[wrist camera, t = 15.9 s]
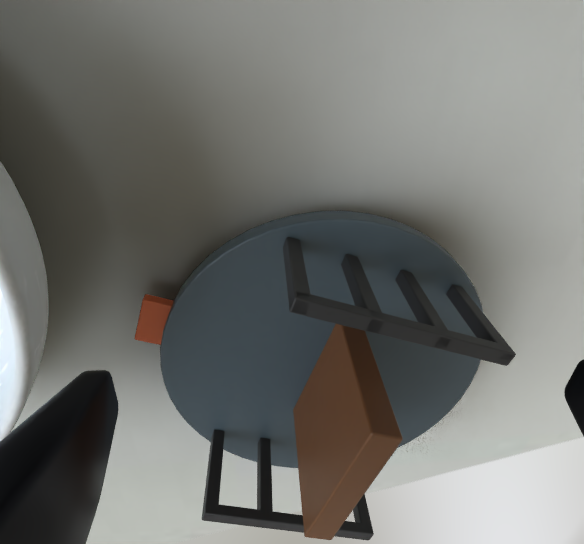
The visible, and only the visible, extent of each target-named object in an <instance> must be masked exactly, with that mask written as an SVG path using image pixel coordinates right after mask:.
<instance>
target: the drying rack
mask: <svg viewBox="0 0 584 544" xmlns="http://www.w3.org/2000/svg"><path fill="white" fill-rule="evenodd" d="M135 340H140V341H144V342H149V343H154V344H159V345H161V347H160V360H161V370H162V375H163V380H164V383H165V386H166V389H167V391H168V394H169V396H170V398H171V400H172V402H173V403H174V405H175V407H176V409H177V410H178V412H179V413H180V414H181V415H182V417H183V418H184V419H185V420H186V421H187V423H188V424H189V425H190V426H192V427H193V428H194V429H195V430H196V431H197V432H198V433H199V434H200V435H202V436H203V437H205V438H206V439H207V440H209V441H210V442H211V446H210V454H209V462H208V471H207V479H206V488H205V496H204V505H203V513H202V520H204V521H212V522H221V523H229V524H237V525H245V526H254V527H262V528H270V529H280V530H287V531H296V532H304V535H305V537H309V538H318V539H326V540H331V539H332V538H333V537H334V536H338V537H345V538H353V539H354V538H355V539H362V540H370V538H371V537H372V536H373V529H372V526H371V521H370V516H369V512H368V508H367V503H366V499H365V494H364V493H365V492H366V491H367V489H368V488H369V486H370V485H371V484H372V482H373V481H374V479H375V478H376V477H377V475H378V474H379V472H380V471H381V470H382V468H383V467H384V465H385V464H386V463H387V461H388V460H389V458H390V457H391V456H392V454H393V453H394V451H395V450H396V449H397V448H398V447H400V446H402V445H404V444H406V443H408V442H410V441H411V440H413V439H415V438H416V437H418V436H420V435H421V434H423V433H424V432H426V431H427V430H428V429H430V428H431V427H432V426H434V425H435V424H436V423H437V422H439V421H440V420H441V419H442V418H443V417H444V416H445V415H446V414H447V413H448V412H449V411H450V410H451V409H452V408H453V407H454V406H455V404H456V403H457V402H458V401H459V400H460V399H461V397H462V396H463V394H464V393H465V391H466V390H467V388H468V387H469V385H470V384H471V382H472V380H473V378H474V376H475V374H476V371H477V369H478V366H479V363H480V360H485V361H489V362H493V363H497V364H501V365H505V366H507V365H508V364H509V363H510V362H511V360H512V359H513V358H514V357H515V355H516V354H515V352H514V351H513V350H512V349H511V347H510V346H509V345H508V344H507V343H506V341H505V340H504V339H503V338H502V336H501V335H500V334H499V333H498V331H497V330H496V329H495V328H494V326H493V325H492V324H491V322H490V321H489V320H488V319H487V317H486V316H485V315H484V314H483V310H482V305H481V302H480V300H479V297H478V294H477V292H476V289H475V287H474V286H473V284H472V283H471V281H470V279H469V278H468V276H467V274H466V273H465V272H464V271H463V269H462V268H461V267H460V266H459V265H458V264H457V262H456V261H455V260H454V259H453V258H452V257H451V256H450V255H449V253H448V252H447V251H446V250H445V249H444V248H442V247H441V246H440V245H439V244H437V243H436V242H435V241H434V240H432V239H431V238H430V237H428V236H426V235H425V234H423V233H421V232H419V231H418V230H416V229H414V228H412V227H410V226H408V225H405V224H402V223H400V222H397V221H395V220H392V219H389V218H385V217H381V216H377V215H373V214H368V213H359V212H350V211H318V212H311V213H304V214H296V215H292V216H288V217H284V218H281V219H277V220H273V221H270V222H267V223H265V224H262V225H260V226H257V227H255V228H252V229H250V230H248V231H246V232H244V233H242V234H241V235H239V236H237V237H235V238H233V239H232V240H230V241H228V242H226V243H225V244H224V245H222V246H221V247H220V248H218V249H217V250H216V251H214V252H213V253H212V254H210V255H209V256H208V257H207V258H206V259H205V260H204V261H203V262H202V263H201V264H200V265H199V266H198V267H197V268H196V269H195V270H194V271H193V272H192V273H191V275H190V276H189V277H188V279H187V280H186V281H185V283H184V284H183V285H182V287H181V288H180V290H179V292H178V294H177V296H176V298H175V300H169V299H165V298H161V297H157V296H152V295H148V294H145V296H144V298H143V301H142V305H141V310H140V315H139V320H138V325H137V329H136V334H135ZM223 449H224V450H226V451H228V452H230V453H233V454H235V455H238V456H240V457H242V458H246V459H249V460H252V461H256V462H257V510H256V509H248V508H241V507H233V506H225V505H218V504H219V492H220V480H221V469H222V457H223ZM271 465H274V466H282V467H291V468H298V469H299V480H300V491H301V502H302V513H303V516H302V515H294V514H287V513H279V512H272V476H271ZM352 510H353V512H354V518H355V522H348V521H345V520H346V519H347V517H348V516H349V514H350V513H351V512H352Z"/></svg>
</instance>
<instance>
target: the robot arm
mask: <svg viewBox="0 0 584 544" xmlns="http://www.w3.org/2000/svg"><path fill="white" fill-rule="evenodd" d="M565 398H566V401H567V403H568V405H569V408H570V410H571V412H572V414H573V416H574V418H575V420H576V422H577V424H578V426H579V428H580V430H581V432H582V434H583V436H584V360H582V361H580V362H579V363H578V365H577V367H576V369H575V370H574V372H573V374H572V376H571V378H570V380H569V382H568V383H567V385H566V387H565ZM117 415H118V400H117V396H116V392H115V388H114V384H113V380H112V377H111V374H110V373H109V372H108V371H106V370H97V371H85V372H83V373H81V374H80V375H79V376H77V377H76V378H75V379H74V380H73V381H71V382H70V383H69V384H68V385H67V386H66V387H64V388H63V389H62V390H61V391H60V392H58V393H57V394H56V395H55V396H54V397H52V398H51V399H50V400H49V401H48V402H47V403H45V404H44V405H43V406H42V407H41V408H39V409H38V410H37V411H36V412H35V413H33V414H32V415H31V416H30V417H29V418H27V419H26V420H25V421H24V422H23V423H22V424H20V425H19V426H18V427H17V428H16V429H14V430H13V431H12V432H11V433H10V434H8V435H7V436H6V437H5V438H4V439H2V440H1V441H0V544H86V541H87V538H88V535H89V531H90V528H91V525H92V522H93V519H94V516H95V513H96V510H97V506H98V503H99V499H100V495H101V491H102V487H103V482H104V477H105V472H106V468H107V463H108V458H109V454H110V449H111V444H112V439H113V435H114V430H115V425H116V420H117Z"/></svg>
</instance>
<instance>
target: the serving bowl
mask: <svg viewBox="0 0 584 544" xmlns="http://www.w3.org/2000/svg"><path fill="white" fill-rule="evenodd" d="M48 317H49V310H48V287H47V275H46V270H45V265H44V259H43V254H42V251H41V248H40V244H39V241H38V238H37V235H36V232H35V229H34V226H33V224H32V221H31V218H30V216H29V214H28V211H27V209H26V207H25V204H24V202H23V200H22V198H21V196H20V194H19V193H18V191H17V189H16V187H15V185H14V183H13V181H12V179H11V177H10V176H9V174H8V173H7V171H6V169H5V168H4V166H3V165H2V163H1V161H0V441H1V440H2V439H4V438H5V437H6V436H7V435H8V434H10V432H11V430H12V429H13V427H14V425H15V424H16V422H17V420H18V418H19V416H20V414H21V412H22V410H23V408H24V405H25V403H26V401H27V398H28V396H29V393H30V391H31V388H32V386H33V383H34V381H35V378H36V375H37V373H38V370H39V366H40V362H41V358H42V355H43V351H44V346H45V341H46V335H47V326H48Z"/></svg>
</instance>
